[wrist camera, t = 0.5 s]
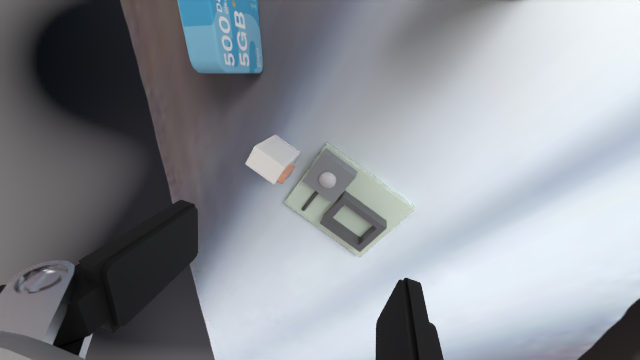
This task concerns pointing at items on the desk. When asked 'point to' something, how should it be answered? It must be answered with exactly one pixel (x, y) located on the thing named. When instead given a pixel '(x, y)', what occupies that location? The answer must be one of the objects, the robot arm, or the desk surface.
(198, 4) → the data package
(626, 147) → the desk surface
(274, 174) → the plug
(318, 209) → the board
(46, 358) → the robot arm
